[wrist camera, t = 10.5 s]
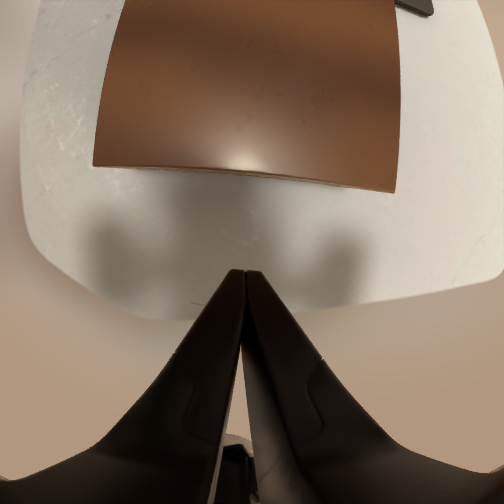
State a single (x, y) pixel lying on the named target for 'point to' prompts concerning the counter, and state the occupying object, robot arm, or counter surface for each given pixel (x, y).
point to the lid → (255, 89)
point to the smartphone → (418, 6)
